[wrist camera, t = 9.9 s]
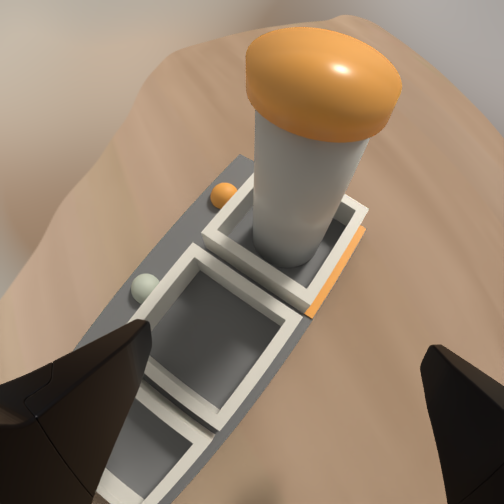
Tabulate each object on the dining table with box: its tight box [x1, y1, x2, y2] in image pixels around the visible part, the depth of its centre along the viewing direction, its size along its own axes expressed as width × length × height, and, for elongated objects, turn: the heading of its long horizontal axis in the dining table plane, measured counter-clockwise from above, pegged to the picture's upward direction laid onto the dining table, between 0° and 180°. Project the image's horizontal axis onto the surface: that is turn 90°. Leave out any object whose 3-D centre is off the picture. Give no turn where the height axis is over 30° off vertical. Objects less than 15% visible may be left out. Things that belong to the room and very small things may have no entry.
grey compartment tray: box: [73, 154, 369, 504], centre depth 16 cm, size 22×10×3 cm, turn 145°
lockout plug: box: [246, 27, 402, 268], centre depth 13 cm, size 5×5×12 cm
